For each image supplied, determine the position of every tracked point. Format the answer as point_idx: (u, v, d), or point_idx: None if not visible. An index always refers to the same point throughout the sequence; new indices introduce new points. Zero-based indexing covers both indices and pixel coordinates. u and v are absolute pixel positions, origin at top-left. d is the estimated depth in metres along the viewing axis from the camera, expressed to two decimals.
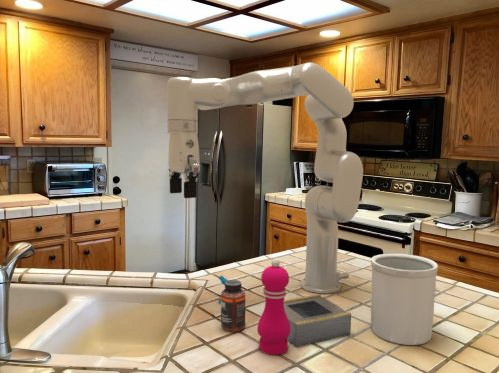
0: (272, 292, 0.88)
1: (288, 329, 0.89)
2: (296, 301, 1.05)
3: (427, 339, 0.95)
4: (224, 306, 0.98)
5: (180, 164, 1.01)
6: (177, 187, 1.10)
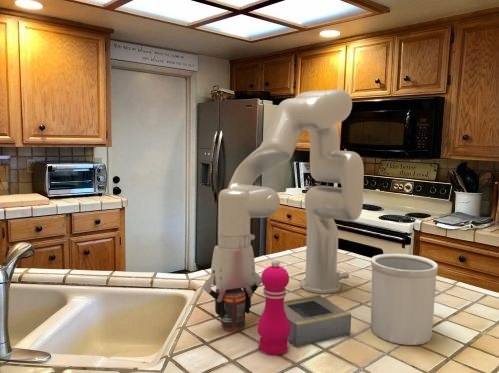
0: (272, 292, 0.88)
1: (288, 329, 0.89)
2: (296, 301, 1.05)
3: (427, 339, 0.95)
4: (224, 306, 0.98)
5: (251, 277, 1.00)
6: None
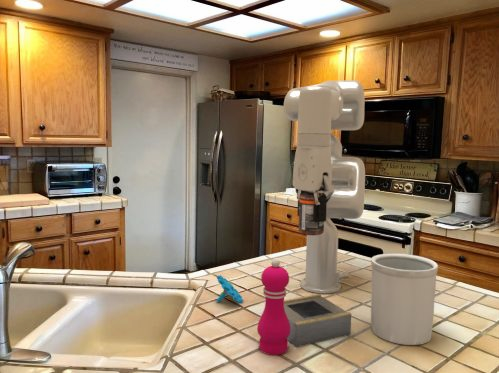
0: (272, 292, 0.88)
1: (288, 329, 0.89)
2: (296, 301, 1.05)
3: (427, 339, 0.95)
4: None
5: None
6: None
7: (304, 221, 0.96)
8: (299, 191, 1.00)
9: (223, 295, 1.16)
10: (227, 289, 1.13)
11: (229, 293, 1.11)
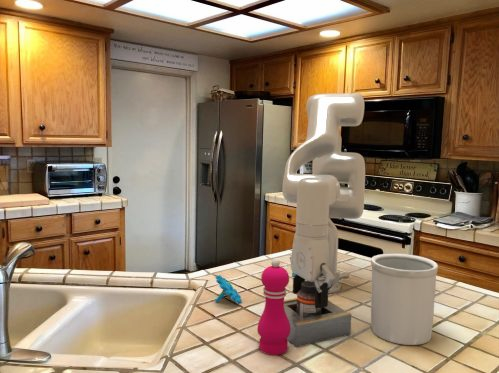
0: (272, 292, 0.88)
1: (288, 329, 0.89)
2: (296, 301, 1.05)
3: (427, 339, 0.95)
4: (319, 308, 0.99)
5: None
6: None
7: None
8: None
9: (222, 295, 1.16)
10: (225, 289, 1.13)
11: (227, 293, 1.11)
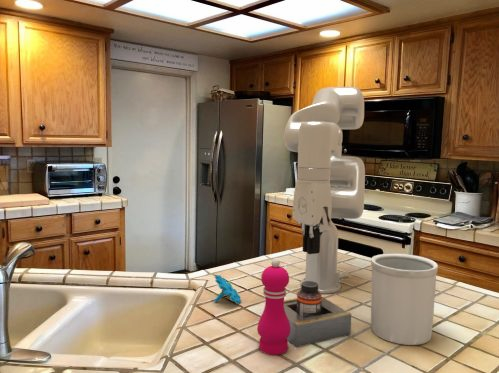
0: (272, 292, 0.88)
1: (288, 329, 0.89)
2: (296, 301, 1.05)
3: (427, 339, 0.95)
4: (319, 308, 0.99)
5: None
6: None
7: None
8: (303, 225, 0.99)
9: (221, 295, 1.16)
10: (224, 289, 1.13)
11: (226, 293, 1.11)
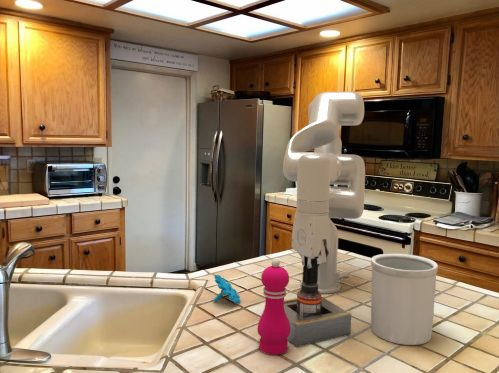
0: (272, 292, 0.88)
1: (288, 329, 0.89)
2: (296, 301, 1.05)
3: (427, 339, 0.95)
4: (319, 308, 0.99)
5: None
6: None
7: None
8: (302, 256, 1.00)
9: (220, 295, 1.16)
10: (223, 289, 1.13)
11: (225, 293, 1.12)
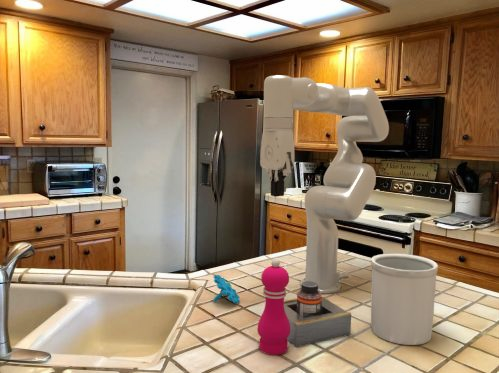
0: (272, 292, 0.88)
1: (288, 329, 0.89)
2: (296, 301, 1.05)
3: (427, 339, 0.95)
4: (319, 308, 0.99)
5: None
6: None
7: None
8: (270, 172, 1.09)
9: (220, 295, 1.16)
10: (223, 289, 1.14)
11: (224, 293, 1.12)
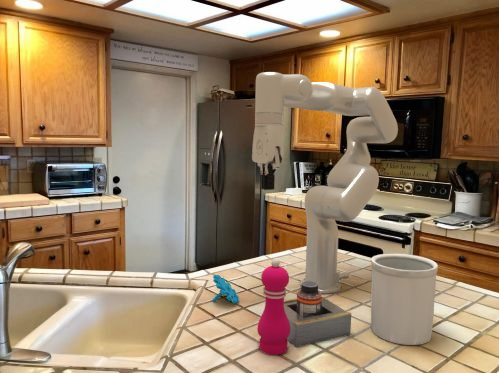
0: (272, 292, 0.88)
1: (288, 329, 0.89)
2: (296, 301, 1.05)
3: (427, 339, 0.95)
4: (319, 308, 0.99)
5: None
6: None
7: None
8: (261, 166, 1.12)
9: (219, 294, 1.16)
10: (222, 289, 1.14)
11: (223, 293, 1.12)
